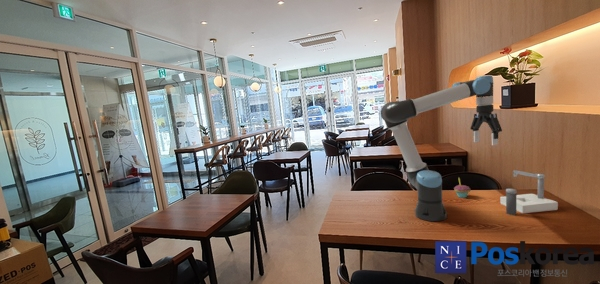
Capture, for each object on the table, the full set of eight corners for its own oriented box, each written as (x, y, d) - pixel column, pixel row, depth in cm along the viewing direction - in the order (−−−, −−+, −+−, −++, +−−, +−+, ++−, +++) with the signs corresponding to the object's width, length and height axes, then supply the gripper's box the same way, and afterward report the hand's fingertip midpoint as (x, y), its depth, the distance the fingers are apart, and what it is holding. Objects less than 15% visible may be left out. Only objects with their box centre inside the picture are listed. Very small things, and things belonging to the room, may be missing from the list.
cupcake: (451, 196, 160) (450, 177, 159) (459, 193, 164) (459, 175, 163) (465, 199, 153) (464, 180, 151) (473, 196, 156) (473, 177, 155)
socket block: (522, 213, 129) (522, 185, 127) (500, 203, 143) (500, 177, 141) (557, 209, 129) (558, 181, 127) (531, 200, 143) (532, 174, 141)
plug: (510, 215, 127) (510, 191, 126) (503, 212, 132) (503, 189, 130) (518, 214, 128) (518, 190, 126) (511, 211, 132) (511, 188, 130)
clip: (512, 176, 146) (512, 170, 146) (516, 175, 147) (516, 169, 147) (542, 182, 132) (542, 175, 132) (546, 181, 133) (546, 174, 133)
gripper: (510, 103, 125) (510, 145, 128) (475, 104, 150) (476, 140, 153) (495, 104, 125) (496, 147, 128) (463, 106, 150) (463, 141, 153)
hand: (485, 143), depth 140 cm, fingers open, 13 cm apart
